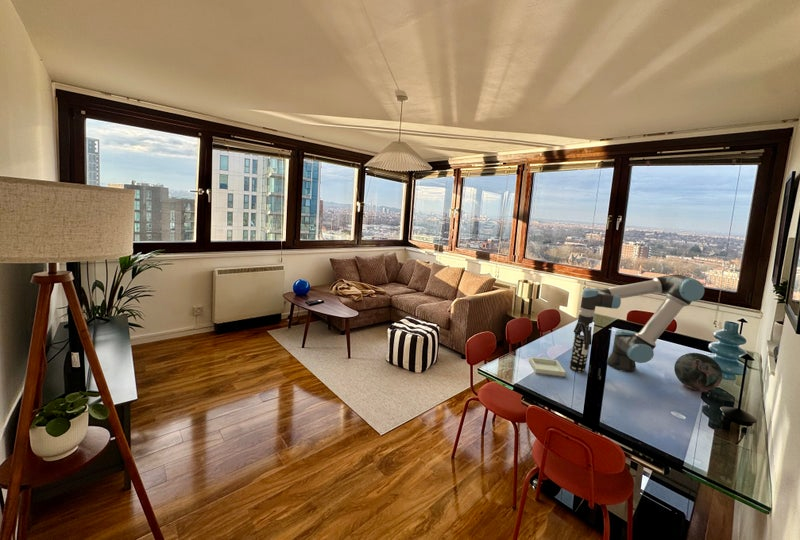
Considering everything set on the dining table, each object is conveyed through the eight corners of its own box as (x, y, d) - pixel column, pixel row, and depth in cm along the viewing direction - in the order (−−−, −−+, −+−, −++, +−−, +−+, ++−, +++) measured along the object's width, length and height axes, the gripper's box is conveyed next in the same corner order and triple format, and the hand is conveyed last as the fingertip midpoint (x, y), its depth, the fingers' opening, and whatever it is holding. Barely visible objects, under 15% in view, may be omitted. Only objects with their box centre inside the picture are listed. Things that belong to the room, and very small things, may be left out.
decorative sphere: (662, 378, 202) (669, 345, 199) (697, 380, 202) (705, 348, 198) (689, 396, 183) (697, 360, 179) (728, 399, 182) (737, 364, 179)
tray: (556, 364, 211) (557, 360, 210) (565, 377, 195) (565, 372, 194) (529, 361, 212) (529, 357, 212) (535, 373, 197) (536, 368, 196)
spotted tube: (586, 373, 202) (592, 340, 198) (571, 371, 203) (576, 338, 200) (582, 367, 210) (587, 335, 206) (567, 365, 211) (572, 334, 208)
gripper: (571, 308, 213) (565, 341, 217) (588, 321, 189) (581, 357, 193) (584, 309, 212) (578, 342, 216) (602, 322, 188) (595, 359, 192)
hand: (579, 349), depth 204 cm, fingers open, 13 cm apart
